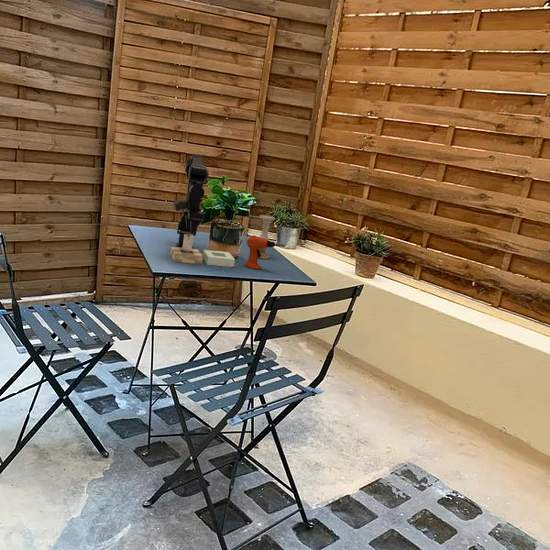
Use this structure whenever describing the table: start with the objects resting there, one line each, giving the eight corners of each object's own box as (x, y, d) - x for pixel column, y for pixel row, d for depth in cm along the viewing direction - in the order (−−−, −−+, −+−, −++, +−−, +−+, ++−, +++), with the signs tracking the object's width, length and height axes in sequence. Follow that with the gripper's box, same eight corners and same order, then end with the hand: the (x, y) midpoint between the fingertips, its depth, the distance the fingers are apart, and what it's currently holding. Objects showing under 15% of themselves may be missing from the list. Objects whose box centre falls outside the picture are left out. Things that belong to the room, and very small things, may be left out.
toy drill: (281, 273, 237) (283, 239, 234) (242, 268, 244) (243, 235, 241) (285, 272, 242) (287, 238, 239) (247, 266, 249) (248, 233, 245)
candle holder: (248, 254, 269) (255, 213, 264) (264, 254, 273) (271, 215, 268) (256, 259, 262) (263, 217, 256) (272, 259, 266) (279, 219, 261)
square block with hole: (202, 257, 247) (203, 249, 246) (227, 259, 251) (228, 252, 250) (207, 264, 236) (208, 256, 235) (233, 267, 240) (235, 259, 239)
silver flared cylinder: (180, 257, 239) (183, 233, 236) (189, 258, 241) (192, 234, 238) (181, 260, 236) (185, 235, 233) (190, 260, 237) (194, 236, 234)
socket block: (169, 254, 242) (170, 246, 241) (196, 256, 246) (197, 249, 245) (173, 261, 231) (174, 253, 230) (201, 264, 235) (202, 256, 234)
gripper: (172, 189, 236) (168, 224, 240) (179, 197, 220) (174, 234, 224) (197, 192, 240) (192, 226, 244) (206, 200, 224) (201, 237, 228)
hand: (189, 230), depth 235 cm, fingers open, 9 cm apart
